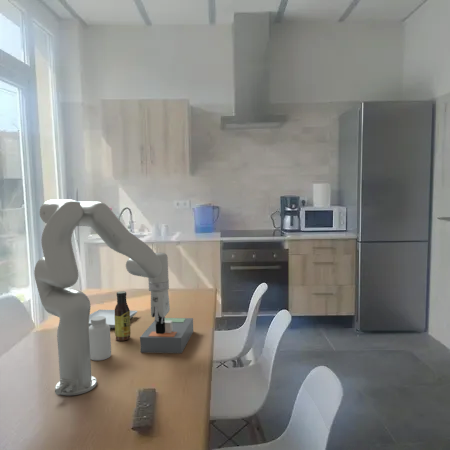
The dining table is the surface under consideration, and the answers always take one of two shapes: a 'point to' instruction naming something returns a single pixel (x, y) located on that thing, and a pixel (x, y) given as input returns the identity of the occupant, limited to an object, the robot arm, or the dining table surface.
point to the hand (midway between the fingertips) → (160, 332)
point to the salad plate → (108, 316)
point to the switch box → (167, 337)
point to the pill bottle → (99, 339)
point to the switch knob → (168, 326)
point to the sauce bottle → (122, 318)
